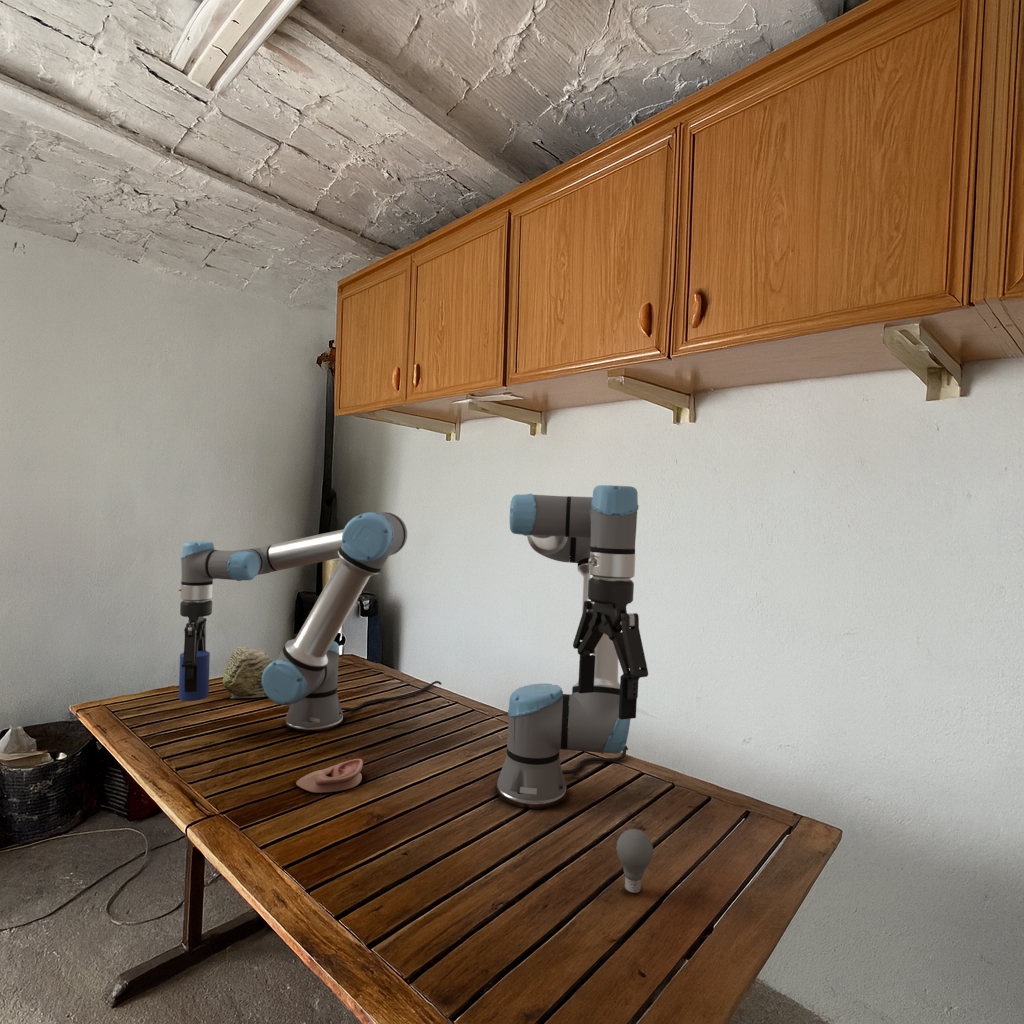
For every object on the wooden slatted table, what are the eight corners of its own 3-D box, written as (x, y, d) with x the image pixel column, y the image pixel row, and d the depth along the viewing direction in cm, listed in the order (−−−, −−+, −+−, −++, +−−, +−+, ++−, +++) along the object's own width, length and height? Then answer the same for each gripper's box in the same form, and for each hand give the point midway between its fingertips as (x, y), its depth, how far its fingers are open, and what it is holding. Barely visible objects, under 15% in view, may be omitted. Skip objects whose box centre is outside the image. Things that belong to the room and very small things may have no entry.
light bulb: (610, 879, 108) (613, 822, 108) (644, 879, 109) (647, 822, 109) (619, 902, 102) (622, 840, 102) (655, 901, 103) (658, 840, 103)
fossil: (218, 695, 195) (220, 647, 195) (278, 685, 208) (279, 640, 207) (228, 703, 189) (230, 653, 188) (289, 692, 201) (290, 645, 201)
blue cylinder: (172, 697, 165) (173, 654, 165) (197, 691, 172) (198, 649, 171) (190, 702, 162) (191, 658, 162) (214, 695, 168) (215, 653, 168)
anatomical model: (289, 770, 136) (316, 750, 147) (288, 789, 136) (315, 767, 147) (346, 778, 133) (369, 757, 145) (345, 797, 133) (368, 774, 145)
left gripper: (190, 594, 175) (187, 676, 176) (170, 606, 156) (168, 699, 156) (219, 594, 177) (217, 675, 177) (203, 606, 158) (201, 698, 158)
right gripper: (558, 569, 116) (552, 684, 116) (632, 589, 93) (626, 733, 93) (594, 569, 118) (588, 681, 119) (675, 588, 95) (668, 728, 96)
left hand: (194, 686), depth 167 cm, fingers closed on blue cylinder, 7 cm apart
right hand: (605, 704), depth 106 cm, fingers open, 13 cm apart
